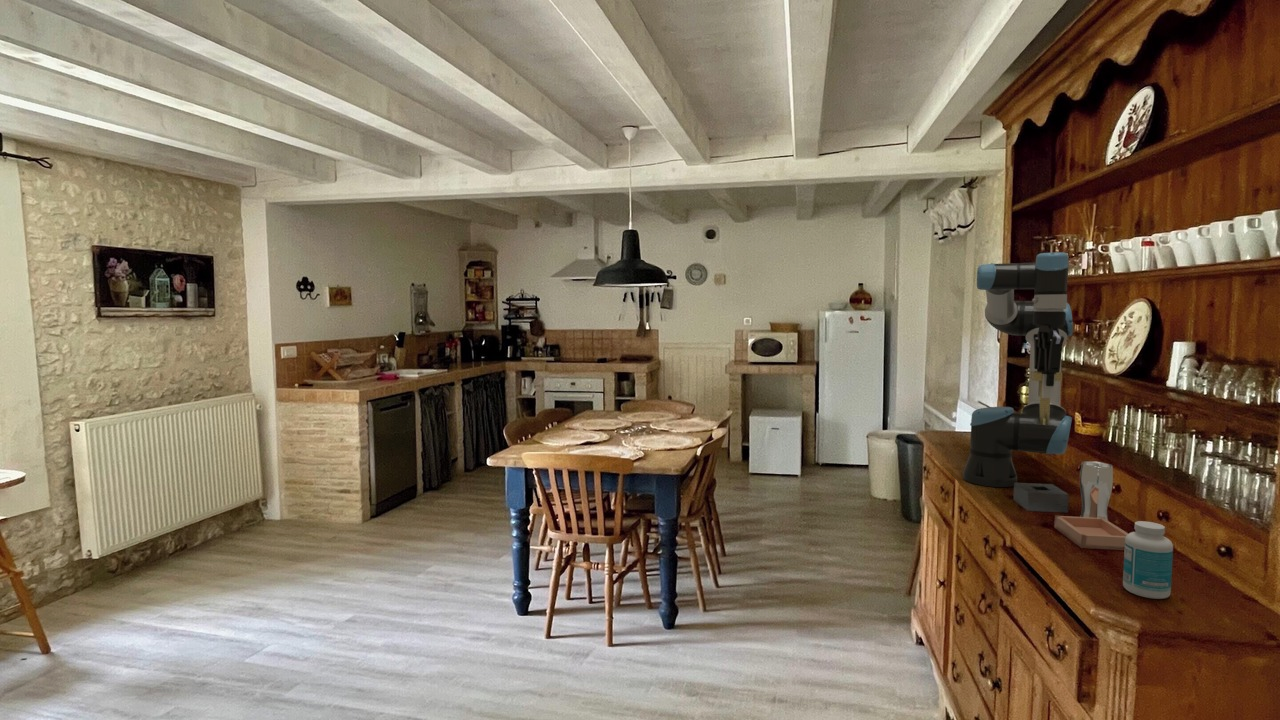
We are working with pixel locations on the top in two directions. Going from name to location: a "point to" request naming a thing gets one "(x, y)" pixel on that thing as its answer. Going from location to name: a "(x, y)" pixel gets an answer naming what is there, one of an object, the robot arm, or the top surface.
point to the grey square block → (1041, 497)
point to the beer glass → (1095, 488)
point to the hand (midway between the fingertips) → (1045, 396)
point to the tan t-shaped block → (1044, 402)
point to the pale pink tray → (1091, 532)
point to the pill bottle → (1148, 561)
